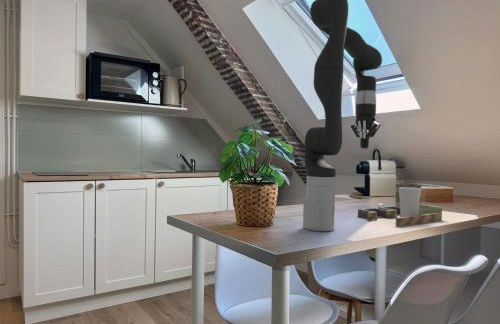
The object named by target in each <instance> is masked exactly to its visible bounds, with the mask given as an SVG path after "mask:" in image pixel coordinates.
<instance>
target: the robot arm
mask: <svg viewBox="0 0 500 324" xmlns="http://www.w3.org/2000/svg"><path fill="white" fill-rule="evenodd" d="M309 11H310V12H309V13H310V19H311V20H312V22H313V24H314V25H315V27H317V28H318V29H319V30H321V31H322V32H323V33H325V34H326V35H327V36H328V39H327V41H326V43H325V45H324V47H323V49H322V50H321V52H320V53H319V55H318V57H317V59H316V61H315V64H314V67H313V68H314V70H313V89H314V91H315V93H316V96H317V98H318V99H319V101H320V103H321V104H322V107H323V111H324V116H325V117H324V119H325V120H324V121H325V122H324V123H325V124H324V126H317V127H315V126H314V127H310V128H309V129H308V130H307V131H306V134H305V137H304V166H305V169H306V192H305V194H306V195H305V198H303V209H302V210H303V215H302V216H303V217H302V218H303V219H302V228H303V229H305V230H309V231H313V232H331V231H334V230H335V208H336V207H335V201H336V200H335V199H336V176H337V175H336V174H337V173H336V172H337V171H336V168H335V167H334V166H332V165H330V164H328V163H327V162H326V160H325V158H324V156H336V155H338V154H339V153H340V152H341V149H342V145H343V119H342V101H343V100H342V98H343V97H342V96H343V95H342V94H343V84H344V83H343V81H344V60H345V59H344V58H345V56H344V55H345V51H346V53H347V54H348V56H350V57H351V58H352V64H353V69H354V72H355V76H356V96H355V114H354V115H355V117H356V118H355V123H354V124H351V125H350V128H351V130H352V131H353V133H354V135H355V137H356V138H359V140H360V142H359V143H360V148H361V149H363V150H365V149H366V150H367V149H368V148H369V142H370V139H371V138H373V137H374V136H375V135H376V133H377V132H378V130H379V129H380V128H381V124H380V123H377V122H376V117H375V116H376V114H377V79H376V77H375V76H373V75H366V71H373V70H377V69H379V68H380V67H381V66H382V63H383V57H382V54H381V52H380V51H379V50H378V49H377V48H376V47H374V46H372V45H371V44H369V43H367V42H366V40H365V39H364V38H363V36H362V35H361V34H360V33H359V32H358V31H356V30H354V29H353V28H350V27H348V19H349V2H348V0H314V1H313V2H311V5H310V8H309Z"/></svg>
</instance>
